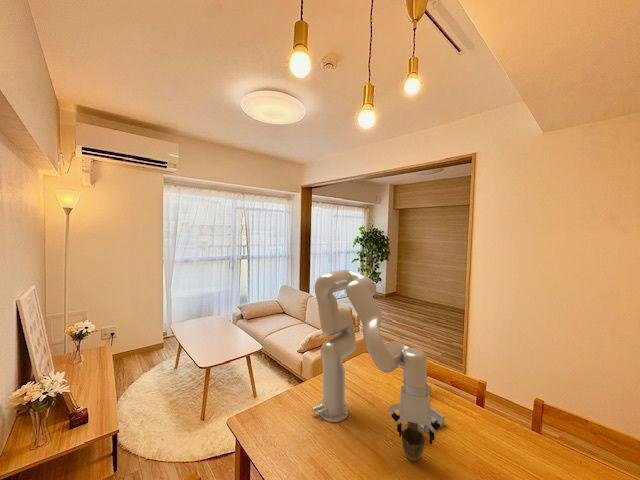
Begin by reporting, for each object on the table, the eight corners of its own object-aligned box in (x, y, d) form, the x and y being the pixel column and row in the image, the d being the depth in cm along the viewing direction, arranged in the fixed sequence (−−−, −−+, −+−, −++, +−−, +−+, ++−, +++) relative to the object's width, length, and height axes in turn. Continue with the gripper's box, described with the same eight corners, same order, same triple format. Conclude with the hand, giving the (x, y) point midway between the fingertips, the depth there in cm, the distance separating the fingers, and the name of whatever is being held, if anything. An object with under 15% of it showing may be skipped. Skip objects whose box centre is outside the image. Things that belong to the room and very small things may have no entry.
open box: (426, 433, 99) (426, 424, 99) (404, 413, 109) (404, 404, 109) (444, 425, 103) (444, 416, 103) (420, 406, 114) (421, 398, 114)
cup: (426, 455, 89) (426, 432, 89) (421, 472, 83) (422, 447, 82) (404, 445, 93) (404, 424, 93) (398, 460, 87) (399, 437, 86)
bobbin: (412, 444, 93) (413, 412, 93) (397, 429, 100) (398, 399, 100) (427, 437, 96) (428, 406, 96) (412, 424, 103) (413, 394, 103)
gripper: (441, 385, 87) (442, 435, 87) (389, 376, 93) (389, 423, 93) (444, 398, 80) (444, 453, 80) (387, 388, 86) (387, 439, 86)
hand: (415, 437), depth 87 cm, fingers open, 9 cm apart
